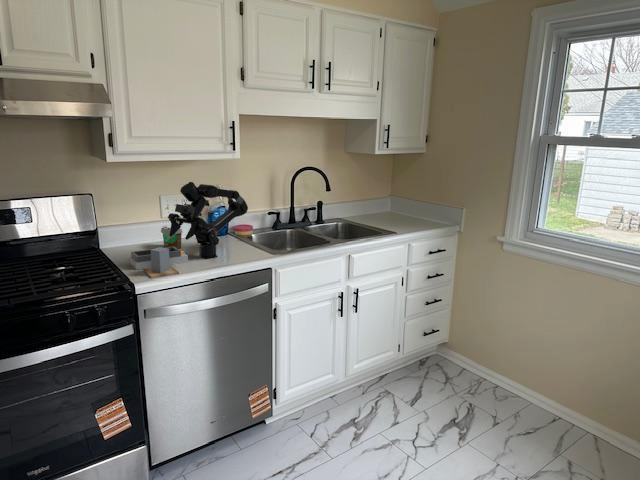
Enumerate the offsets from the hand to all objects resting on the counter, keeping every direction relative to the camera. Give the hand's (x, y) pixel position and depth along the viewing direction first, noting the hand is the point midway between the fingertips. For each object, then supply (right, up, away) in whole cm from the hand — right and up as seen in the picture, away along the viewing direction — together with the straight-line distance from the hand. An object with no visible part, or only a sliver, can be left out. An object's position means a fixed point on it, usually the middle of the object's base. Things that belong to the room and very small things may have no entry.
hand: (178, 237), depth 196 cm
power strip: (-10, -11, +6) cm, 16 cm away
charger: (-5, -13, -6) cm, 16 cm away
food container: (-14, -5, +31) cm, 35 cm away
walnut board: (-5, -14, -6) cm, 16 cm away
